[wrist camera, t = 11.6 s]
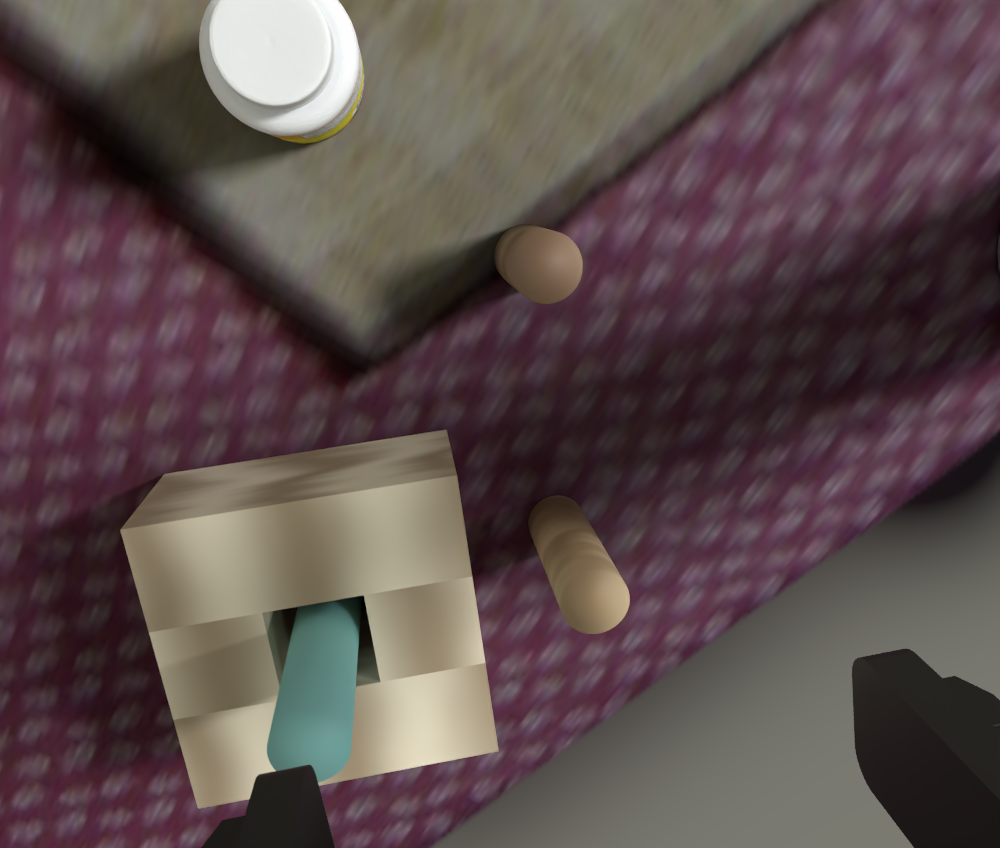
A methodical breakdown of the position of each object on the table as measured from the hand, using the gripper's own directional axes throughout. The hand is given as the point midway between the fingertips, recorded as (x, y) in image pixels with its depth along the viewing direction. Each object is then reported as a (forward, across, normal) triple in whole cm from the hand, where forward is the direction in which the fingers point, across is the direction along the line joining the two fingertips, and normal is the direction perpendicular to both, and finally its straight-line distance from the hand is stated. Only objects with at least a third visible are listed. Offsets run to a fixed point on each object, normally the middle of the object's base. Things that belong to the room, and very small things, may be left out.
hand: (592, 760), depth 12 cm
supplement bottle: (+30, +5, -14) cm, 34 cm away
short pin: (+30, -4, -4) cm, 31 cm away
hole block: (+30, +9, +10) cm, 33 cm away
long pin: (+30, +9, +10) cm, 33 cm away
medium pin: (+31, -3, +10) cm, 32 cm away
